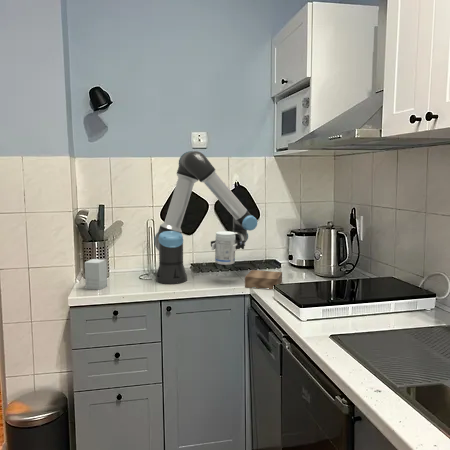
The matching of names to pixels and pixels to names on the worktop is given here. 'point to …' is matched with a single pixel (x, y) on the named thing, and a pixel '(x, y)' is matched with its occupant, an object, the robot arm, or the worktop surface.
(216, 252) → the supplement tub
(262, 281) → the walnut block
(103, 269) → the supplement box
